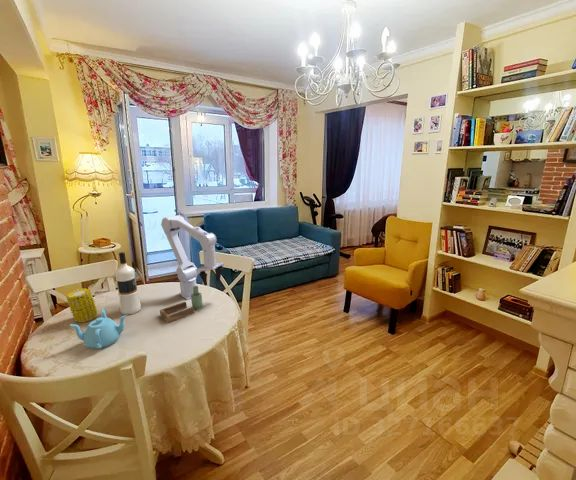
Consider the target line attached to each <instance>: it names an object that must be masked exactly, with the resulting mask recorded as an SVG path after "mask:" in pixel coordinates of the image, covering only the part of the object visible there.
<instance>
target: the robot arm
mask: <svg viewBox="0 0 576 480" xmlns="http://www.w3.org/2000/svg"><path fill="white" fill-rule="evenodd" d="M160 226H161V227H162V230H163V232H164V234H165V236H166V238H167V241H168V243H169V246H170V248H171V249H172V252H173V255H174V257H175V259H176V261H177V264H178V267H176V269H175V270H176V274H177V279H178V280H179V288H180V289H179V290H180V293H178V295H180V296H181V297H182V298H184V299H185V300H190V299H191V294H193V287H194V286H197V279H198V276H200V278H201V280H202V284H203V285H204V286H205V287H206V286H207V285H208V279H207V278H208V273H206V272H208V271H211V270H214V271H215V280H216V281H217V282H220V281H221V276H222V273H223V271H224V267H225V263H224V262H223V261H222V262H217V259H216V248H215V247H216V246H215V244H216V243H217V241H218V239H217V236H216V234H214V232H208V231H205V230H204V229H202V228H201V227H200V226H193V225H192V224H190V223H189V222H188V221H186V219H185V218H184V217H183V216H182V215H180V214H177V215H173V216H167V217H163V218H162V220H161V224H160ZM181 229H182V230H184V231H186V232H188V233H189V234H190V237H192V238H194V239H195V240H197V241H198V242H199V244H200V246H201V249H202V252H203V264H204V265H203V266H201V267H198V268H197V266H196V265H195V263H194V262H191V261H190V260H189V258H188V256H187V254H186V251H185V249H184V246H183V245H182V242H181V240H180V238H179V235H178V233H179V232H180V231H181Z"/></svg>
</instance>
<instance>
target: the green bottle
mask: <svg viewBox="0 0 576 480" xmlns="http://www.w3.org/2000/svg"><path fill="white" fill-rule="evenodd" d="M190 299H191V307H193V308H194V311H198V310H201V309H203V307H204V305H203V296H202V293H201V292H199V286H198V285H196V286H194V287H193V294H191V298H190Z"/></svg>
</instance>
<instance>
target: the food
mask: <svg viewBox="0 0 576 480" xmlns="http://www.w3.org/2000/svg"><path fill="white" fill-rule="evenodd" d="M65 298H66V301H67V304H68V306H69V310H70V311H71V314H72V317H73V320H74V321H75V322H78V323H85V322H89V321H93V320H94V319H95V318H96V317H97V316H98V310H97V306H96V303H95V300H94V297H93V294H92V291H91V289H89V288H84V287H82V288H76V289H75V290H72V291H70V292H68V293H67V294H66V296H65Z"/></svg>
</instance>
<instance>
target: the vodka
mask: <svg viewBox="0 0 576 480" xmlns="http://www.w3.org/2000/svg"><path fill="white" fill-rule="evenodd" d="M118 258H119V264H120V266H119V267H118V268H116V270H115V271H114V276H115V280H116V286H117V290H118V298H119V305H120V306H119V312H120V314H122V315H127V316H128V315H133V314H136V313H138V312H139V311H141V309H142V304H141V301H140V299H139V290H138V287H137V280H136V271H135V268H134V267H132V266H130V265H128V264H127V258H126V252H124V251H121V252H118Z"/></svg>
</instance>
